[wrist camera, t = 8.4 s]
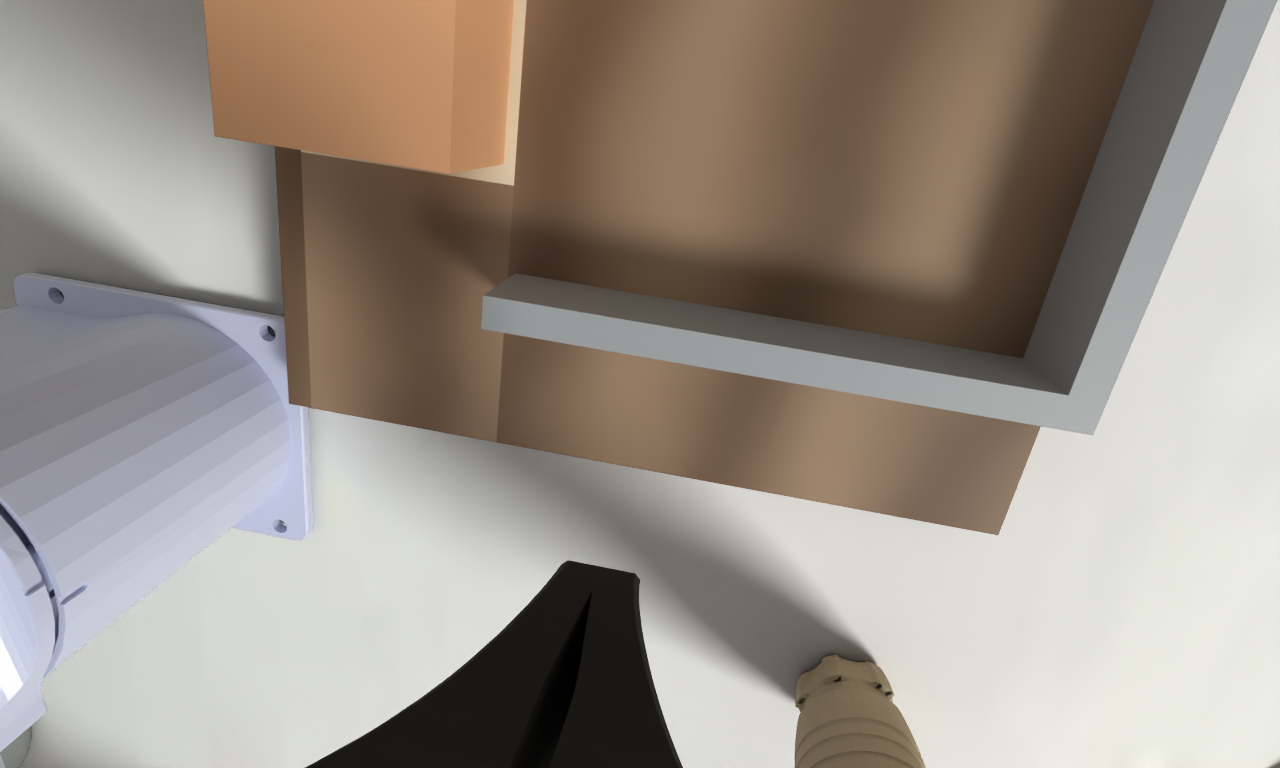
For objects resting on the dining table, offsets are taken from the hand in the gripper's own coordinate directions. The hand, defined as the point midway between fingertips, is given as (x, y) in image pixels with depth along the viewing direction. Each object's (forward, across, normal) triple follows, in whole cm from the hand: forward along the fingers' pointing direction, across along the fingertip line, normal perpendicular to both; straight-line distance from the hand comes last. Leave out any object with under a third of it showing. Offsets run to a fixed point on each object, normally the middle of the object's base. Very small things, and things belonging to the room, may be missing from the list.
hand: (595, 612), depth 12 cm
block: (+7, +7, -9) cm, 14 cm away
